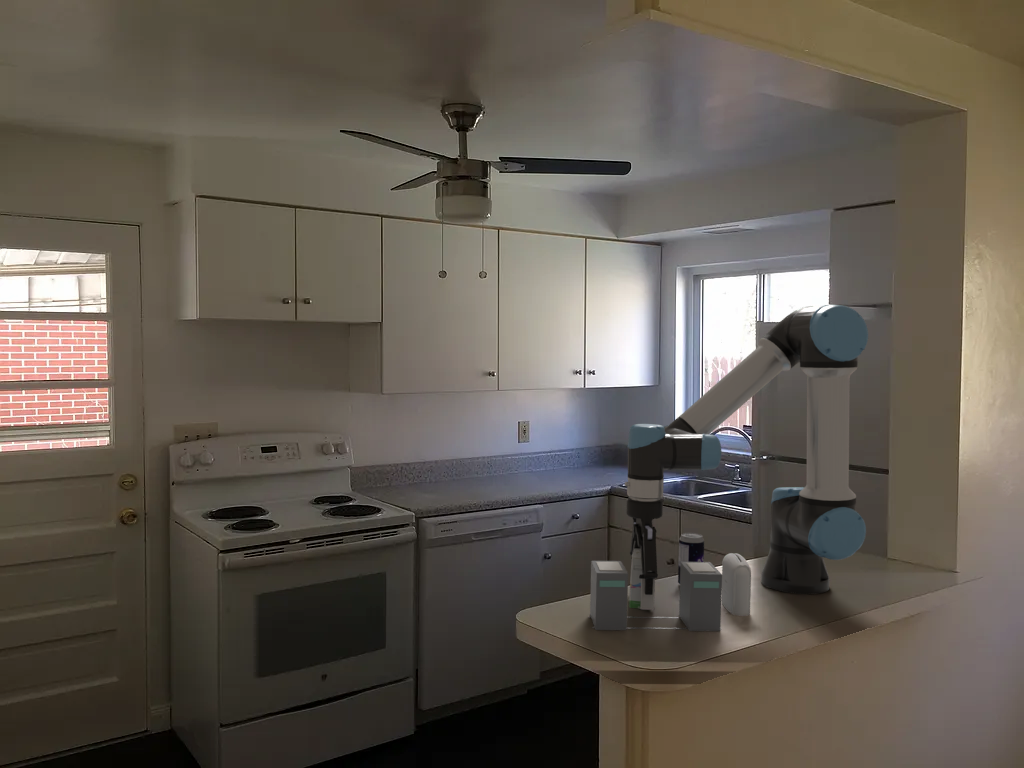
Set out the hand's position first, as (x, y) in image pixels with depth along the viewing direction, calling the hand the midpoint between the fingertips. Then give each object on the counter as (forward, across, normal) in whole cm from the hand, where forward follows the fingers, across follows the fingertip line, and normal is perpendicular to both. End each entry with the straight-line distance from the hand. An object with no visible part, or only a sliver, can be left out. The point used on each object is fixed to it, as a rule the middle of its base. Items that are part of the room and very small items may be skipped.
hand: (642, 600), depth 181 cm
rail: (+2, +13, 0) cm, 13 cm away
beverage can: (+2, -16, +14) cm, 21 cm away
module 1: (0, +13, -9) cm, 16 cm away
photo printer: (+2, +3, +19) cm, 19 cm away
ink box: (+2, 0, 0) cm, 2 cm away
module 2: (0, +13, +9) cm, 16 cm away
